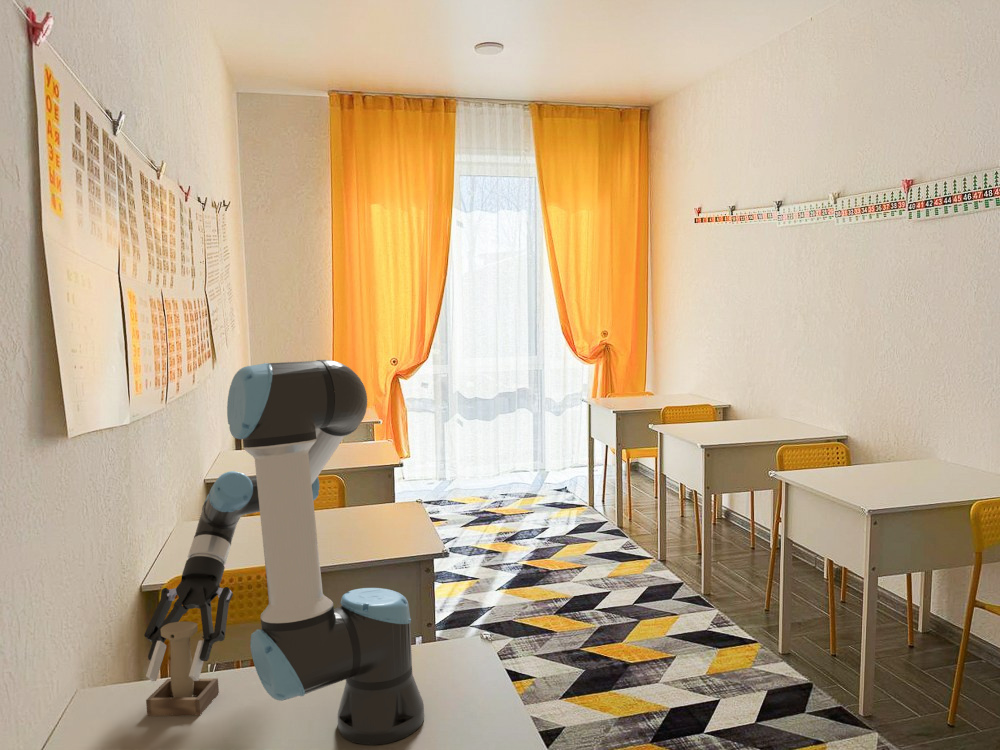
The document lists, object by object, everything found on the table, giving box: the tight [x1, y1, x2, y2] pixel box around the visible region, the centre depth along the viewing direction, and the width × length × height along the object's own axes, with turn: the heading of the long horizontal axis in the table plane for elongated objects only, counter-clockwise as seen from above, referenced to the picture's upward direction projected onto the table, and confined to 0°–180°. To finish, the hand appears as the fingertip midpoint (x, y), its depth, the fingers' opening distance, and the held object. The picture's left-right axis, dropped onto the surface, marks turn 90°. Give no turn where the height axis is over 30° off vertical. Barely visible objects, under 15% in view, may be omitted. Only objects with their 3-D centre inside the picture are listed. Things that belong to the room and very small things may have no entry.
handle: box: [161, 620, 198, 698], centre depth 137 cm, size 5×6×15 cm
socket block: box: [145, 677, 220, 717], centre depth 138 cm, size 10×8×3 cm
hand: (172, 678), depth 134 cm, fingers open, 7 cm apart
